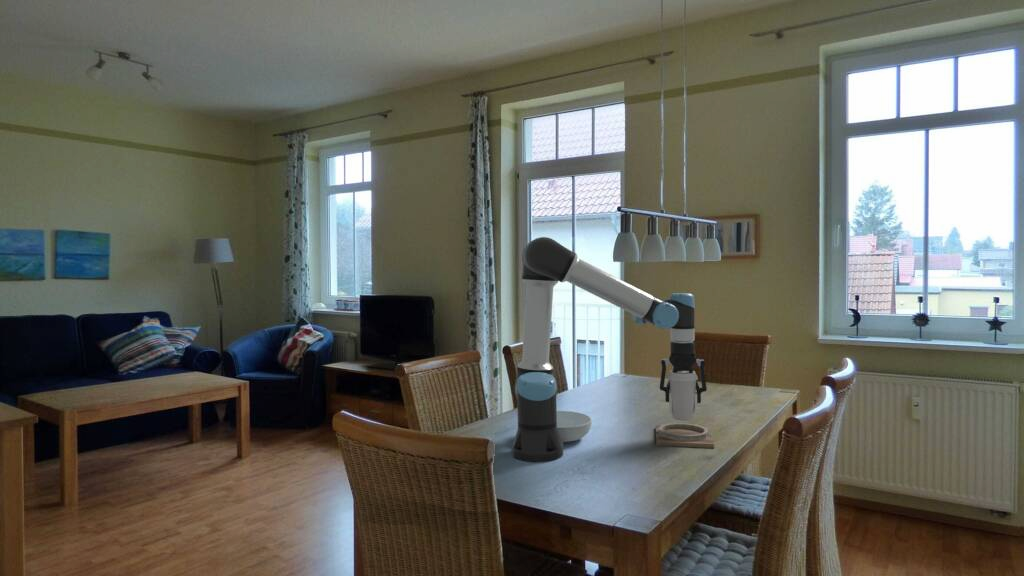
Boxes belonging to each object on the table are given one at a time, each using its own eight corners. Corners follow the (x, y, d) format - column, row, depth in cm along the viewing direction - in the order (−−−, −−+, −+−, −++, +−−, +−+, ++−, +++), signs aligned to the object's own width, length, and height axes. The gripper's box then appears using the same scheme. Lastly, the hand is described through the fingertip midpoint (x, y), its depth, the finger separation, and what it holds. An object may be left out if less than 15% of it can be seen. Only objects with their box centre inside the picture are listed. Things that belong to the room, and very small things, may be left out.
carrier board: (714, 448, 183) (714, 439, 183) (656, 445, 187) (656, 436, 187) (708, 430, 202) (708, 422, 202) (655, 428, 206) (655, 420, 206)
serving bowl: (538, 451, 183) (538, 429, 182) (519, 433, 203) (519, 413, 203) (602, 445, 188) (602, 423, 188) (577, 428, 208) (577, 408, 208)
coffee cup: (685, 413, 201) (685, 368, 200) (704, 420, 192) (704, 372, 191) (661, 416, 197) (661, 370, 197) (679, 423, 188) (679, 375, 188)
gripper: (714, 340, 195) (714, 410, 196) (650, 339, 199) (651, 408, 200) (716, 343, 188) (717, 416, 188) (650, 342, 192) (651, 414, 193)
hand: (683, 412), depth 194 cm, fingers closed on coffee cup, 7 cm apart
